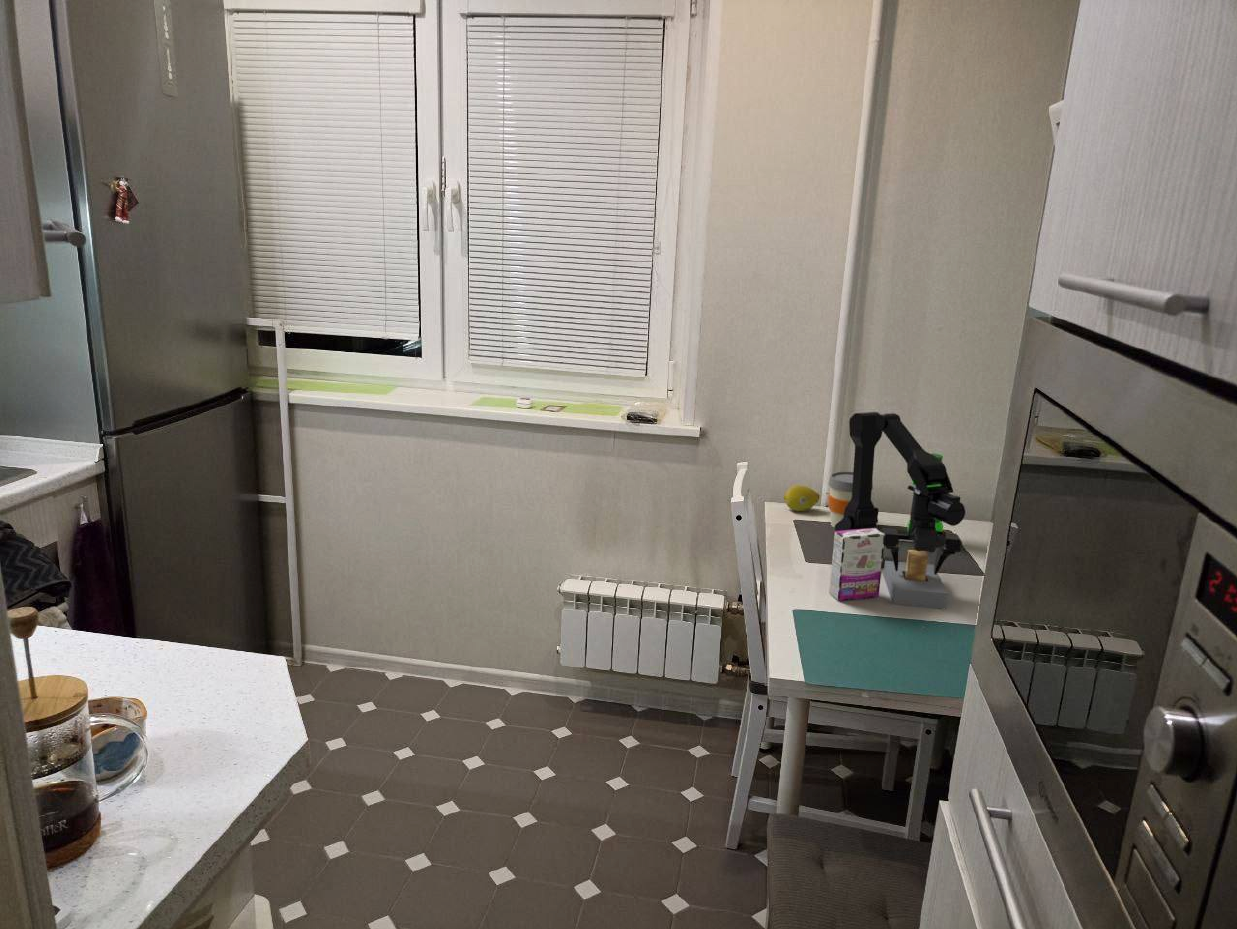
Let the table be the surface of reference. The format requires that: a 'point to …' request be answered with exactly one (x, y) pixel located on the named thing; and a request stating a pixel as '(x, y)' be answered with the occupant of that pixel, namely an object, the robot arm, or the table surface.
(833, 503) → the reusable coffee cup
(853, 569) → the candy bar box
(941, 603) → the socket block
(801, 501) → the lemon
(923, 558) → the peg
